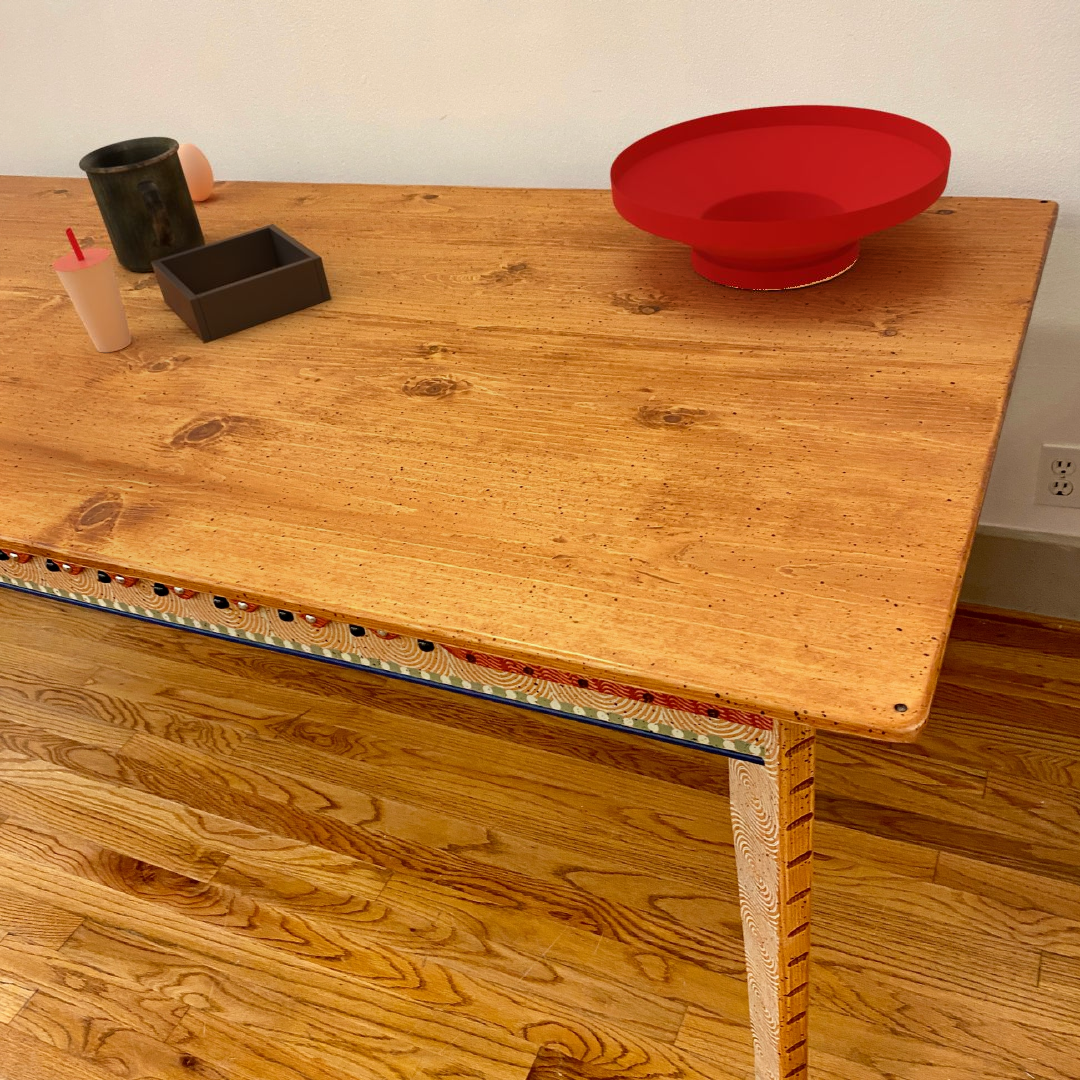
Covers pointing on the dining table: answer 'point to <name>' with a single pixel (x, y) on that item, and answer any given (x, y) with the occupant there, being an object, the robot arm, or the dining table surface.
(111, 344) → the cup
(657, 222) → the bowl
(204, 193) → the egg
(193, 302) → the dark brown open box
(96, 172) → the mug
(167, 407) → the dining table surface
